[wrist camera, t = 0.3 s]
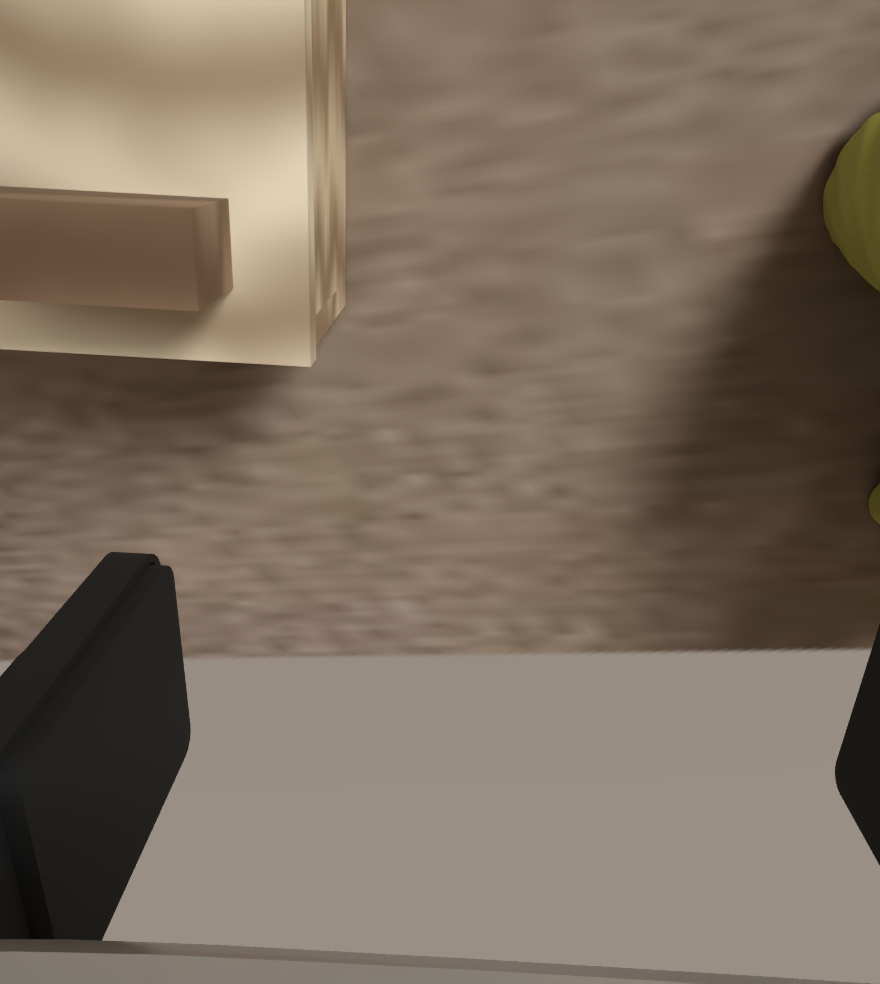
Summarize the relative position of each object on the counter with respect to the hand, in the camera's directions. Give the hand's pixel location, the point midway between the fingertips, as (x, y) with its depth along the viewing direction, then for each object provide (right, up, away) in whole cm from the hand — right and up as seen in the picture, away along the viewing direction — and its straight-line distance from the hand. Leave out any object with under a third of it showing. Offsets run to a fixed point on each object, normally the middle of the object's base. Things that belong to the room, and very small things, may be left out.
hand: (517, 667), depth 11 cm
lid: (-12, +17, +16) cm, 26 cm away
